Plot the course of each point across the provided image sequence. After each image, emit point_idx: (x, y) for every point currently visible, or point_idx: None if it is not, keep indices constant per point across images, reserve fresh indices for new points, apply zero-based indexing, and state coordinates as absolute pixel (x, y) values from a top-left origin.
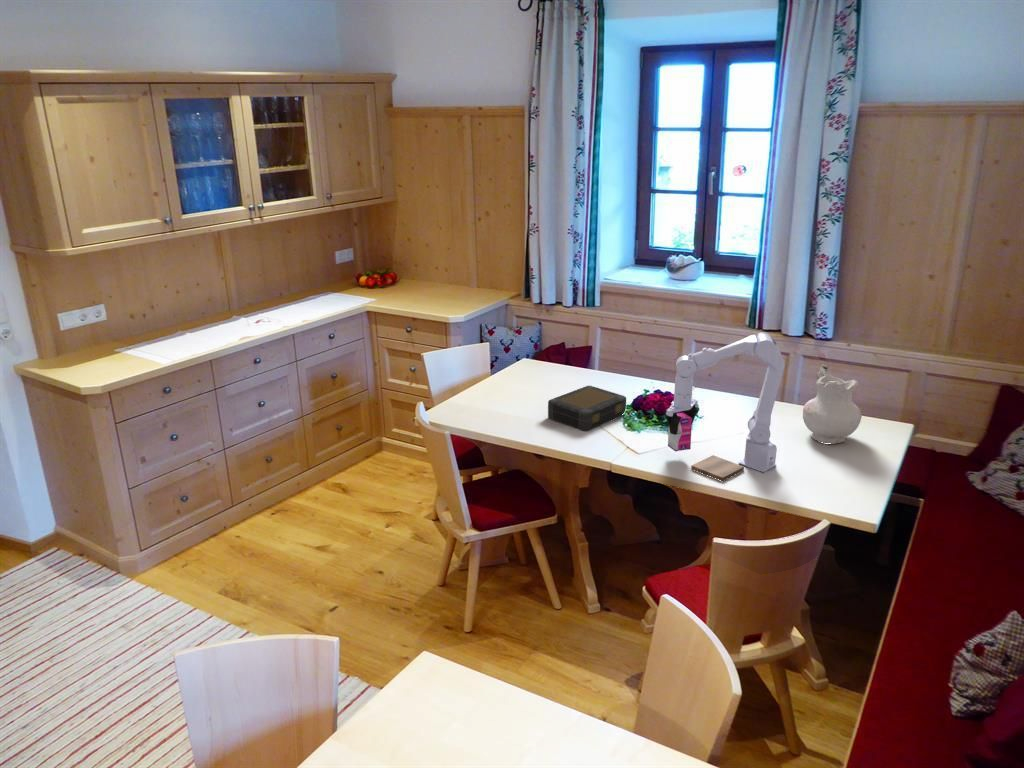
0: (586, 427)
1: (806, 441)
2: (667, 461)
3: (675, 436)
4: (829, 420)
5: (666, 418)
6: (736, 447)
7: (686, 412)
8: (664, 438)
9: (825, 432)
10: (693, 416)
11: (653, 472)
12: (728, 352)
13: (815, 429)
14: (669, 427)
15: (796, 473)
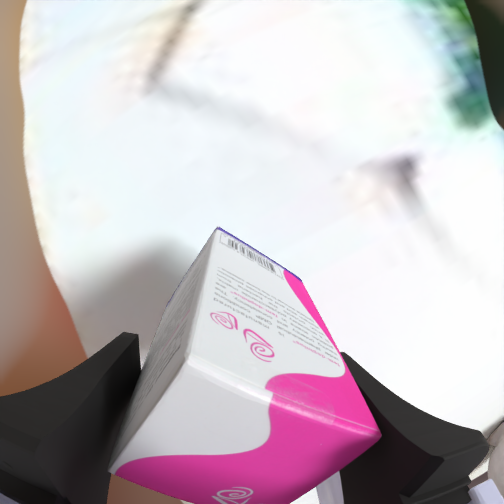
0: None
1: (497, 418)
2: (169, 244)
3: (147, 354)
4: (498, 485)
5: (13, 400)
6: (444, 363)
7: (378, 459)
8: (405, 101)
9: (492, 462)
10: (347, 484)
11: (46, 255)
12: None
13: (502, 451)
14: (93, 357)
15: None
